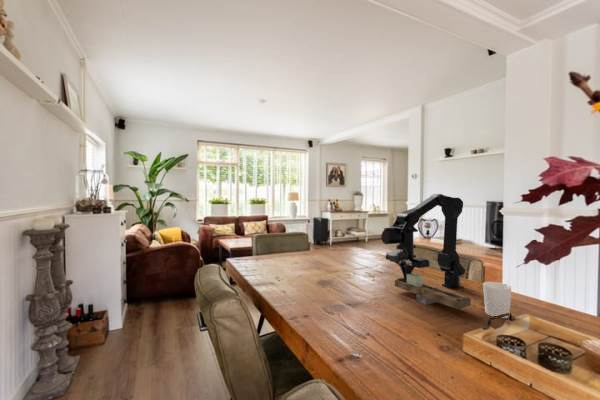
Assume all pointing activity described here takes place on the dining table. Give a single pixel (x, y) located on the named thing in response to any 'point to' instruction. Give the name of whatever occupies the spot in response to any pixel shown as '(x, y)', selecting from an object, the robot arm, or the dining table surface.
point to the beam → (434, 295)
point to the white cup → (497, 298)
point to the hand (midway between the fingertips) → (406, 279)
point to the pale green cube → (414, 279)
